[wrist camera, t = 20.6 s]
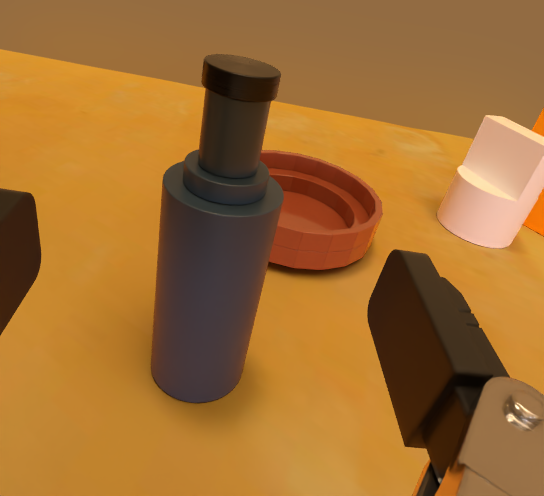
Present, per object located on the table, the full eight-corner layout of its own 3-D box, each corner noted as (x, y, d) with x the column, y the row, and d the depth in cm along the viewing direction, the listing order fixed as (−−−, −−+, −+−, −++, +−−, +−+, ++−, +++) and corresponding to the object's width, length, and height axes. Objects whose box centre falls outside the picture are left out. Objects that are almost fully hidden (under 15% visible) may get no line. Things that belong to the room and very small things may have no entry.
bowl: (173, 224, 41) (177, 181, 38) (258, 173, 54) (265, 138, 51) (334, 303, 36) (350, 259, 34) (385, 225, 49) (400, 190, 47)
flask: (130, 371, 27) (139, 50, 17) (188, 319, 32) (222, 42, 21) (208, 420, 25) (271, 97, 15) (258, 358, 30) (332, 77, 20)
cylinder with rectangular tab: (527, 245, 52) (588, 150, 45) (473, 251, 48) (530, 148, 42) (473, 206, 58) (519, 117, 52) (421, 208, 55) (464, 113, 48)
